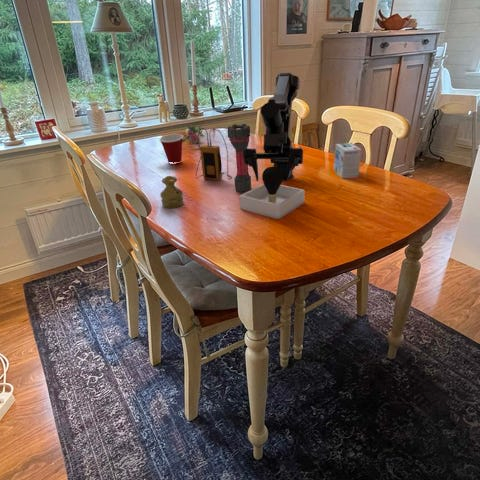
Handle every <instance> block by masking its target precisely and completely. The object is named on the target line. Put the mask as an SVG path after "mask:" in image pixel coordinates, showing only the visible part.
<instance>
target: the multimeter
mask: <svg viewBox="0 0 480 480" xmlns="http://www.w3.org/2000/svg"><path fill="white" fill-rule="evenodd" d="M201 130H203V131H205V132H206V140H207V144H204V145H202V146H200V141H199V140H198V141H197V145H198V147H199V152H200V159H199V160H198V164H197V168H196V171H195V175H197V173H198V170H199V165H200V162H201V168H202V170H201V171H202V176H203V179H204V180H212V181H213V180H214V181H220V180H221V179H222V178H223V175H224V174H226V176H227V178H228V179H229V180H231V179H233V176H231V175H230V174H229V162H227V171H226V172H222V169H223V168H222V167H223V166H222V164H223V163H222V157H221V147H220V146H219V145H212V140H211V138H209V136H211V131H213V130H215V131H218V132H219V133H220V135H221V137H222V139H223V141H224V145H225V149H226V154H227V155H226V157H227V160H226V161H229V152H228V151H229V150H228V147H227V143H226V140H225V138H224V135H223V134H222V132H221V131H220V130H219V129H217V128H211V130H210V131H209V134H208V131H207V130H206V128H204V127H201V129H200V130H199V132H197V135H198V137H200V134H199V133H200V132H201ZM208 135H209V136H208Z"/></svg>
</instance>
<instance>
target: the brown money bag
mask: <svg viewBox="0 0 480 480" xmlns="http://www.w3.org/2000/svg"><path fill="white" fill-rule="evenodd" d="M177 181H178V178H177V177H174V176H171V175H167V176H165V177H164V178H162V179H161V182H162V184H164V185H165V187H164V189H163V190H162V191H161V192H160V194H159V195H160V198H161V200H160V201H161V206H162V207H163V208H165V209H177V208H180V207H182V206H183V205H184V197H183V190H181V189H180V188H178V187H176V186H175V183H176V182H177Z"/></svg>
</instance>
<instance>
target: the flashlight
mask: <svg viewBox="0 0 480 480" xmlns="http://www.w3.org/2000/svg"><path fill="white" fill-rule="evenodd" d="M250 137H251V127H250V125H247V124H246V123H242V124H240V125H238V124H236V123H235V124H232V125H231V126H227V138H228V139H229V142H230V144H231V145H232V147H233V148H234V151H235V160H236V161H235V162H236V163H235V164H236V176H234V178H233V179H234V188H235V191H237V192H239V193H243V192H248V191H250V189H251V188H252V177H251V176H250V174H249V165H248V164H245V162H244V158H243V151H244V150H245V149H248V147H249V144H250Z"/></svg>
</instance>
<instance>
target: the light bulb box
mask: <svg viewBox="0 0 480 480" xmlns="http://www.w3.org/2000/svg"><path fill="white" fill-rule="evenodd" d="M334 150H335V151H334V159H333V160H334V161H333V162H334V163H333V171H334V172H335V173H336V174H337V175H338V176H339V177H340V178H341V179H354V178H359V175H360V167H361V166H360V165H361V159H362V149H361V148H360V147H358V146H357V145H356V144H354V143H353V142H346V143H345V142H344V143H335V149H334Z"/></svg>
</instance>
